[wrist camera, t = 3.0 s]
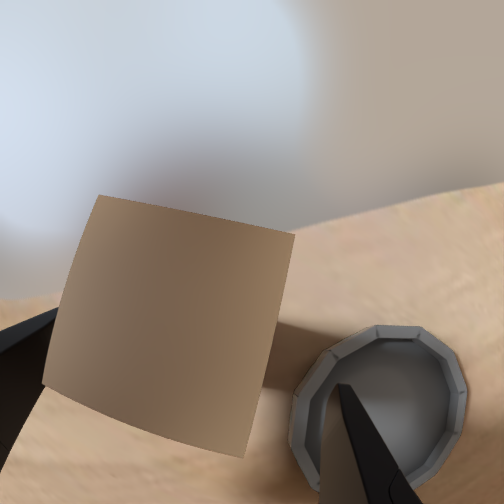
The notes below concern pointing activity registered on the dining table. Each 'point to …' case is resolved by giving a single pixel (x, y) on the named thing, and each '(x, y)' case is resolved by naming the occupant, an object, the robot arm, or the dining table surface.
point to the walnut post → (170, 321)
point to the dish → (386, 398)
